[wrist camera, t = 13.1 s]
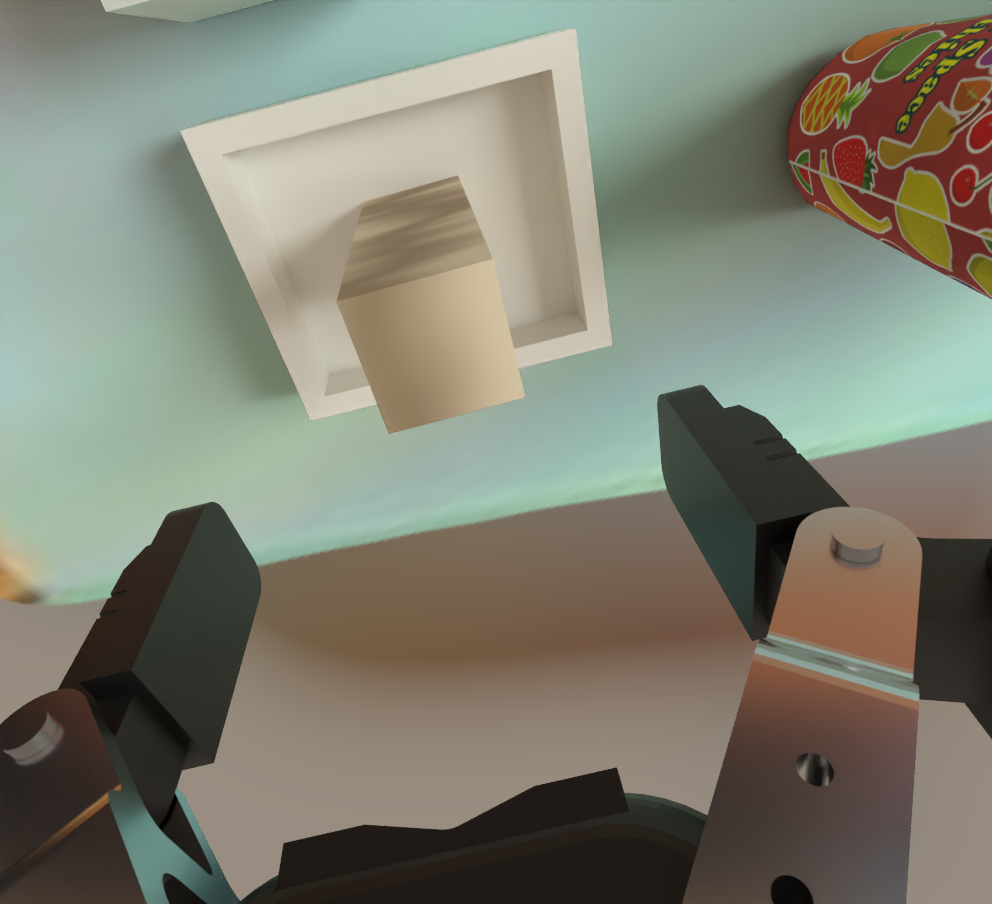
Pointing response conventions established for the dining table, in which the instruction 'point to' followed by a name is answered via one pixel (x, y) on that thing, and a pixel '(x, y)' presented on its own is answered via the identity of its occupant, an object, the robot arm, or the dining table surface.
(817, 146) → the smoothie
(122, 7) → the white open box
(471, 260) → the birch peg
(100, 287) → the dining table surface
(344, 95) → the plastic tray
